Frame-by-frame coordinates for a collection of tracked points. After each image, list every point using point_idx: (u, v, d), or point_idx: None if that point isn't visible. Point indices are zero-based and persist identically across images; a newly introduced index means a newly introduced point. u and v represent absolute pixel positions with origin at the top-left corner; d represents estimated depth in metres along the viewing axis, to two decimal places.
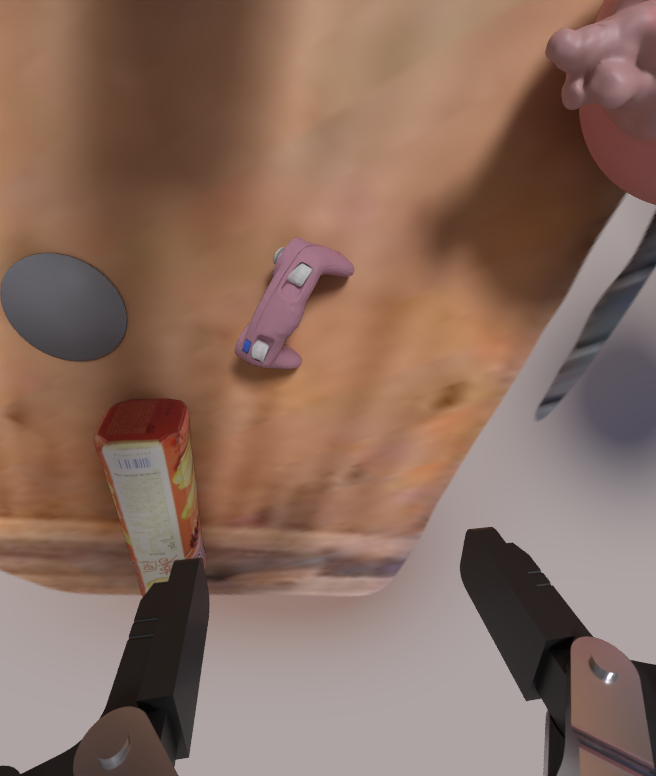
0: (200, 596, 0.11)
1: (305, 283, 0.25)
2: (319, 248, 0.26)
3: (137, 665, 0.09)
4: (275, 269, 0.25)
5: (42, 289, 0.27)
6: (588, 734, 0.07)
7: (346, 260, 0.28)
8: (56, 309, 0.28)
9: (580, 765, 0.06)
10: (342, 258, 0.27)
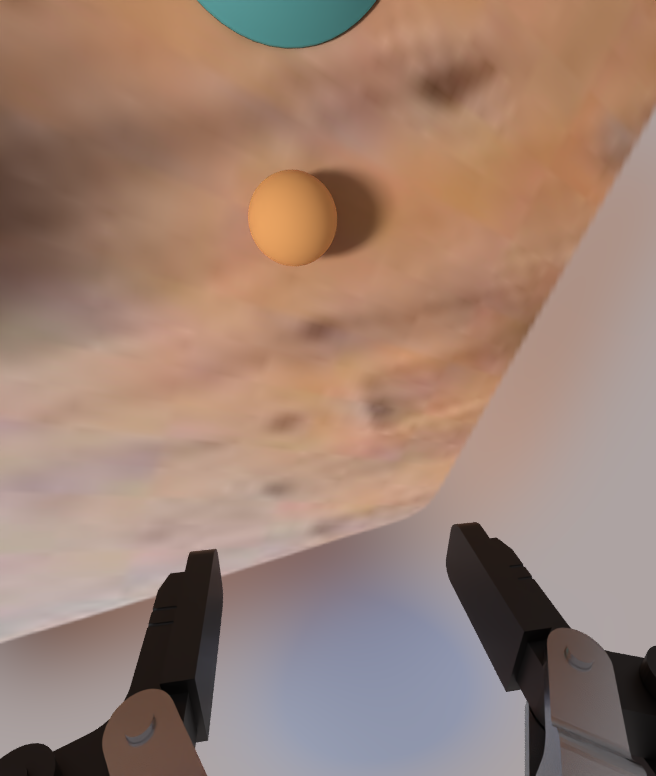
0: (215, 586, 0.11)
1: None
2: None
3: (158, 650, 0.09)
4: None
5: None
6: (567, 726, 0.07)
7: None
8: None
9: (562, 759, 0.06)
10: None
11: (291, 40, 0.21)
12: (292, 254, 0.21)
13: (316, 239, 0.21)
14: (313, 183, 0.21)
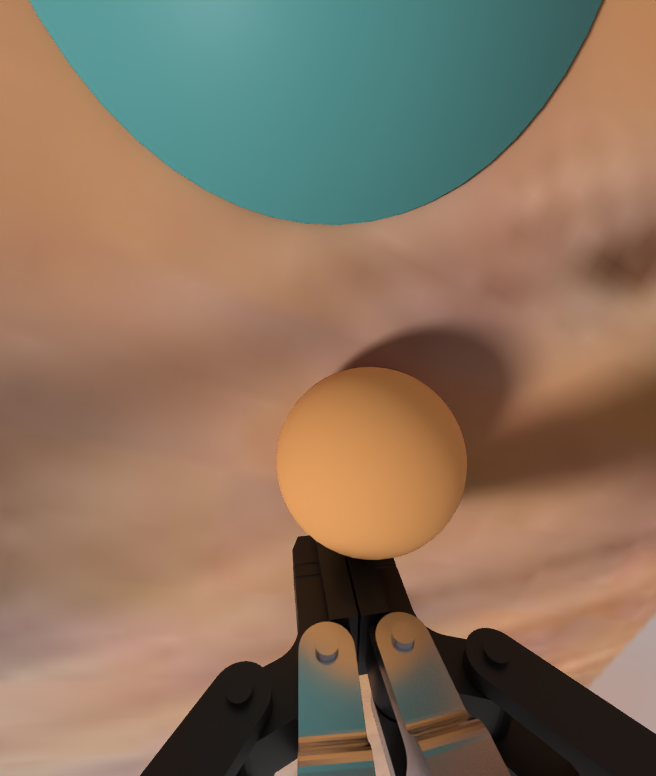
0: None
1: None
2: None
3: (311, 597, 0.10)
4: None
5: None
6: (418, 721, 0.07)
7: None
8: None
9: (430, 772, 0.06)
10: None
11: (349, 209, 0.10)
12: (399, 522, 0.08)
13: (448, 474, 0.09)
14: (405, 375, 0.10)
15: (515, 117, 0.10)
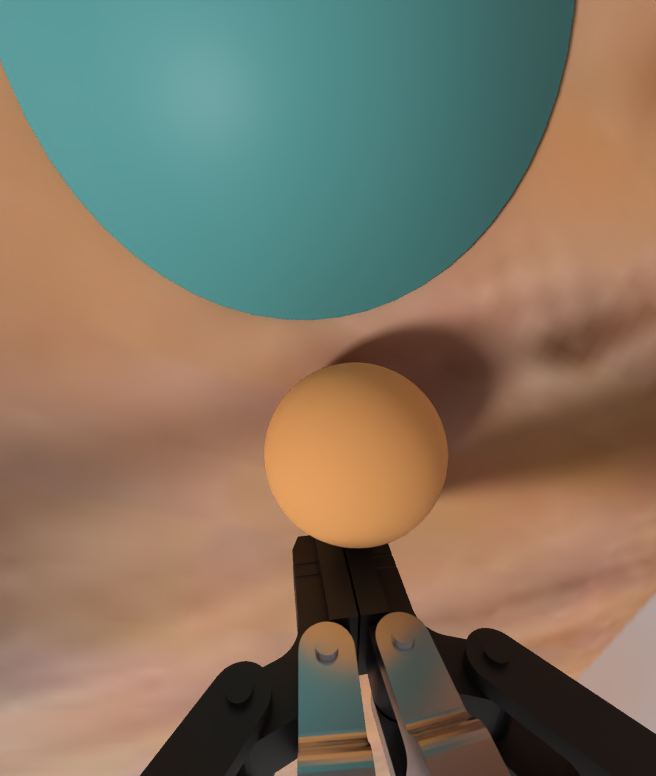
0: None
1: None
2: None
3: (311, 597, 0.10)
4: None
5: None
6: (418, 721, 0.07)
7: None
8: None
9: (430, 772, 0.06)
10: None
11: (322, 306, 0.12)
12: (386, 430, 0.09)
13: (418, 398, 0.10)
14: None
15: (467, 233, 0.11)
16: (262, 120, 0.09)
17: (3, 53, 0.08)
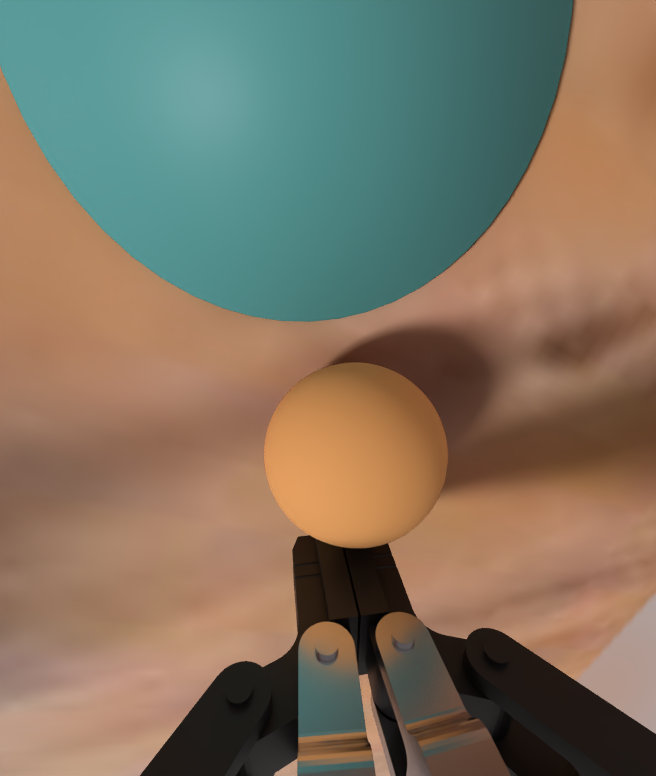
0: None
1: None
2: None
3: (311, 597, 0.10)
4: None
5: None
6: (418, 721, 0.07)
7: None
8: None
9: (430, 772, 0.06)
10: None
11: (321, 308, 0.12)
12: (386, 431, 0.09)
13: (418, 398, 0.10)
14: None
15: (465, 234, 0.11)
16: (260, 122, 0.09)
17: (2, 56, 0.08)
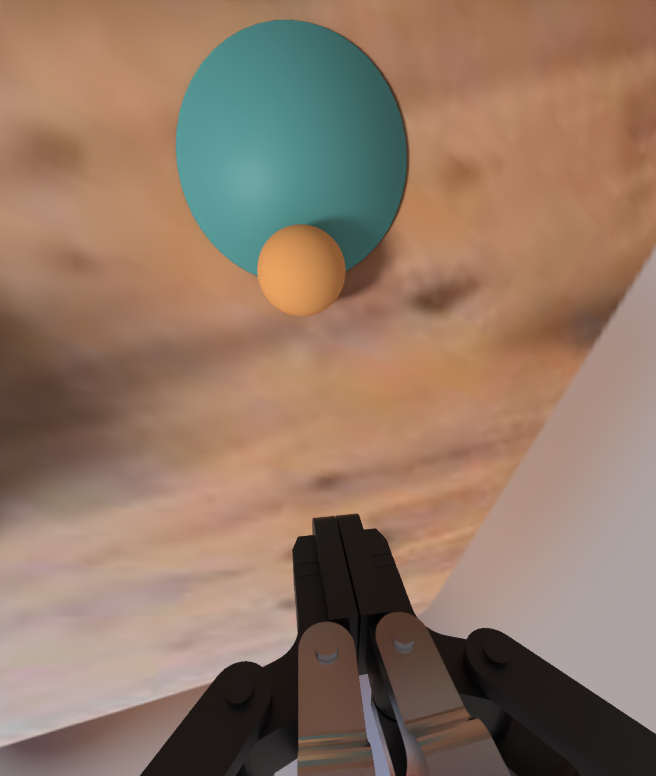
0: None
1: None
2: None
3: (311, 597, 0.10)
4: None
5: None
6: (418, 721, 0.07)
7: None
8: None
9: (430, 772, 0.06)
10: None
11: None
12: None
13: None
14: None
15: (370, 243, 0.25)
16: (277, 198, 0.23)
17: (181, 177, 0.22)
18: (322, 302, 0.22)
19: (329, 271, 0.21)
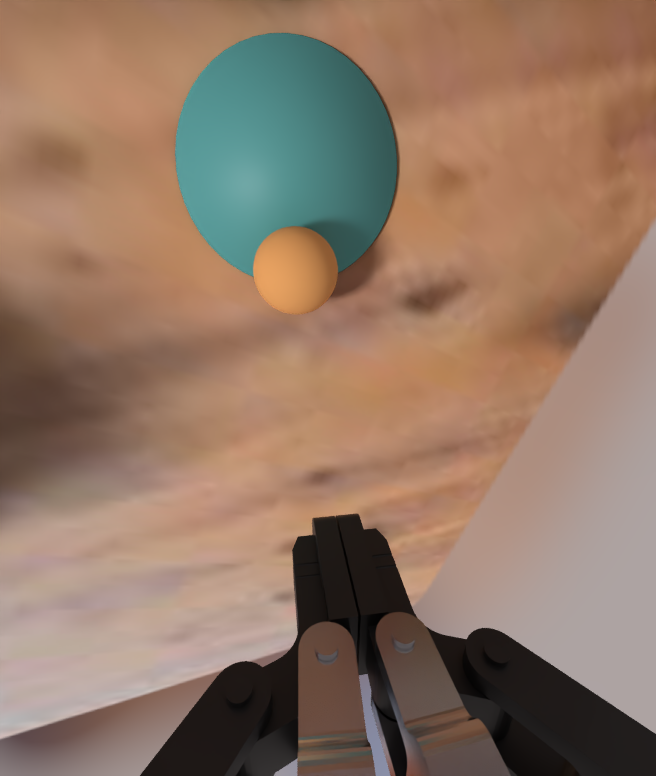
0: None
1: None
2: None
3: (311, 597, 0.10)
4: None
5: None
6: (418, 721, 0.07)
7: None
8: None
9: (430, 772, 0.06)
10: None
11: None
12: None
13: None
14: None
15: (362, 246, 0.26)
16: (272, 202, 0.24)
17: (180, 182, 0.23)
18: (315, 300, 0.23)
19: (321, 270, 0.22)
